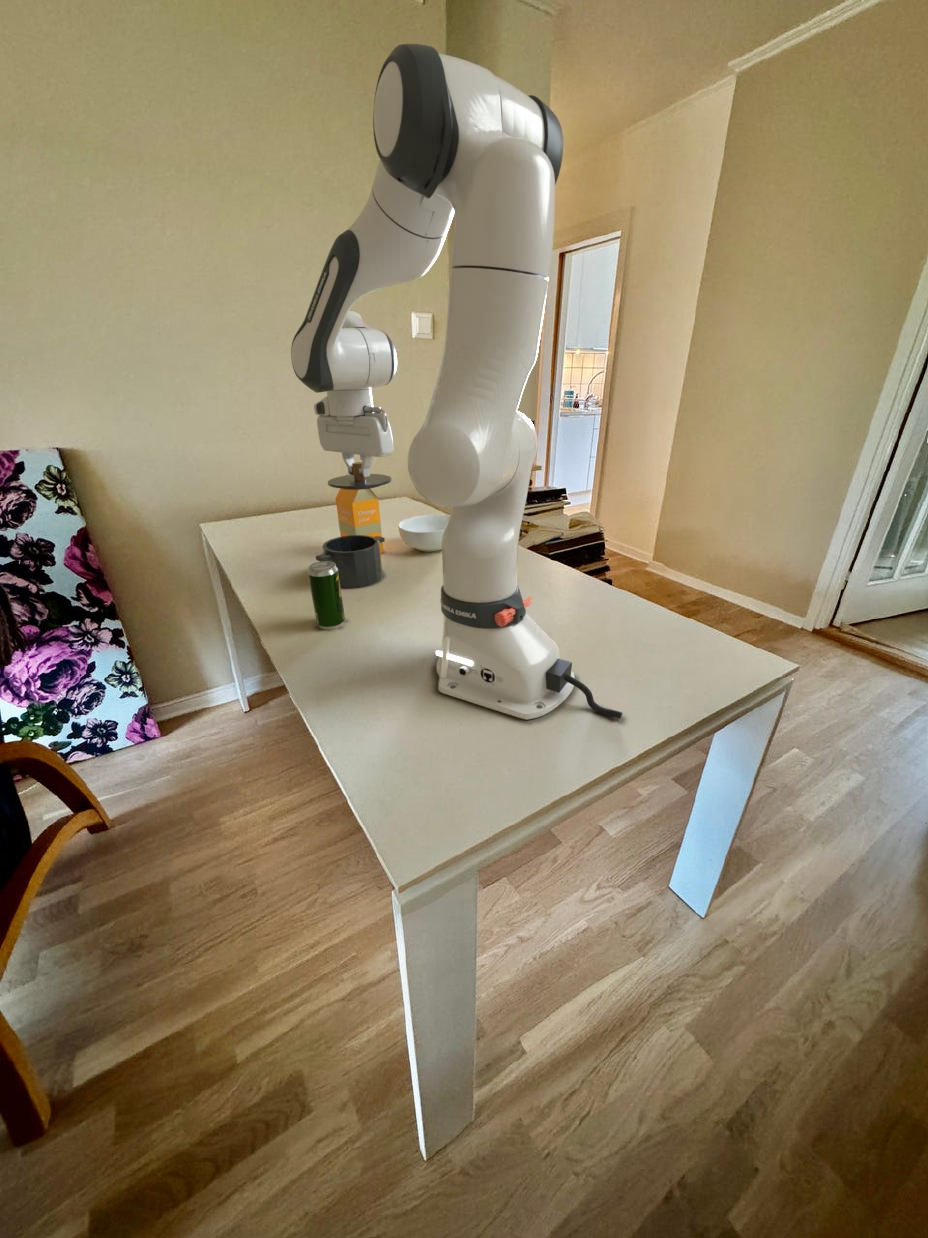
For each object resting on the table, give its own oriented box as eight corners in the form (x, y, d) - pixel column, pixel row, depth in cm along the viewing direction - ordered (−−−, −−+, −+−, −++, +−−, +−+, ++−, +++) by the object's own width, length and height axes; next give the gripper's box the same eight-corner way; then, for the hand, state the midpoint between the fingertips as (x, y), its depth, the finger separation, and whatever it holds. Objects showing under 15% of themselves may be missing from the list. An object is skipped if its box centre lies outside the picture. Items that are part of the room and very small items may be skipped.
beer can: (322, 633, 90) (312, 573, 84) (313, 622, 94) (303, 564, 88) (349, 625, 92) (341, 567, 87) (339, 615, 96) (331, 558, 91)
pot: (401, 572, 116) (398, 538, 113) (341, 597, 104) (335, 560, 100) (367, 561, 124) (364, 529, 120) (307, 583, 111) (301, 548, 108)
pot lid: (404, 482, 105) (402, 461, 103) (355, 494, 96) (352, 470, 94) (364, 476, 113) (362, 456, 111) (315, 486, 104) (312, 464, 102)
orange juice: (358, 559, 125) (349, 481, 116) (342, 551, 131) (331, 476, 122) (384, 552, 130) (376, 476, 120) (367, 544, 135) (358, 472, 126)
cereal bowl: (427, 534, 143) (425, 510, 140) (472, 544, 135) (472, 519, 131) (387, 550, 131) (385, 524, 128) (434, 562, 122) (433, 535, 119)
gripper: (397, 405, 94) (403, 478, 100) (333, 403, 105) (342, 468, 112) (372, 407, 89) (380, 483, 96) (308, 405, 101) (319, 473, 107)
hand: (359, 475), depth 104 cm, fingers closed on pot lid, 2 cm apart
